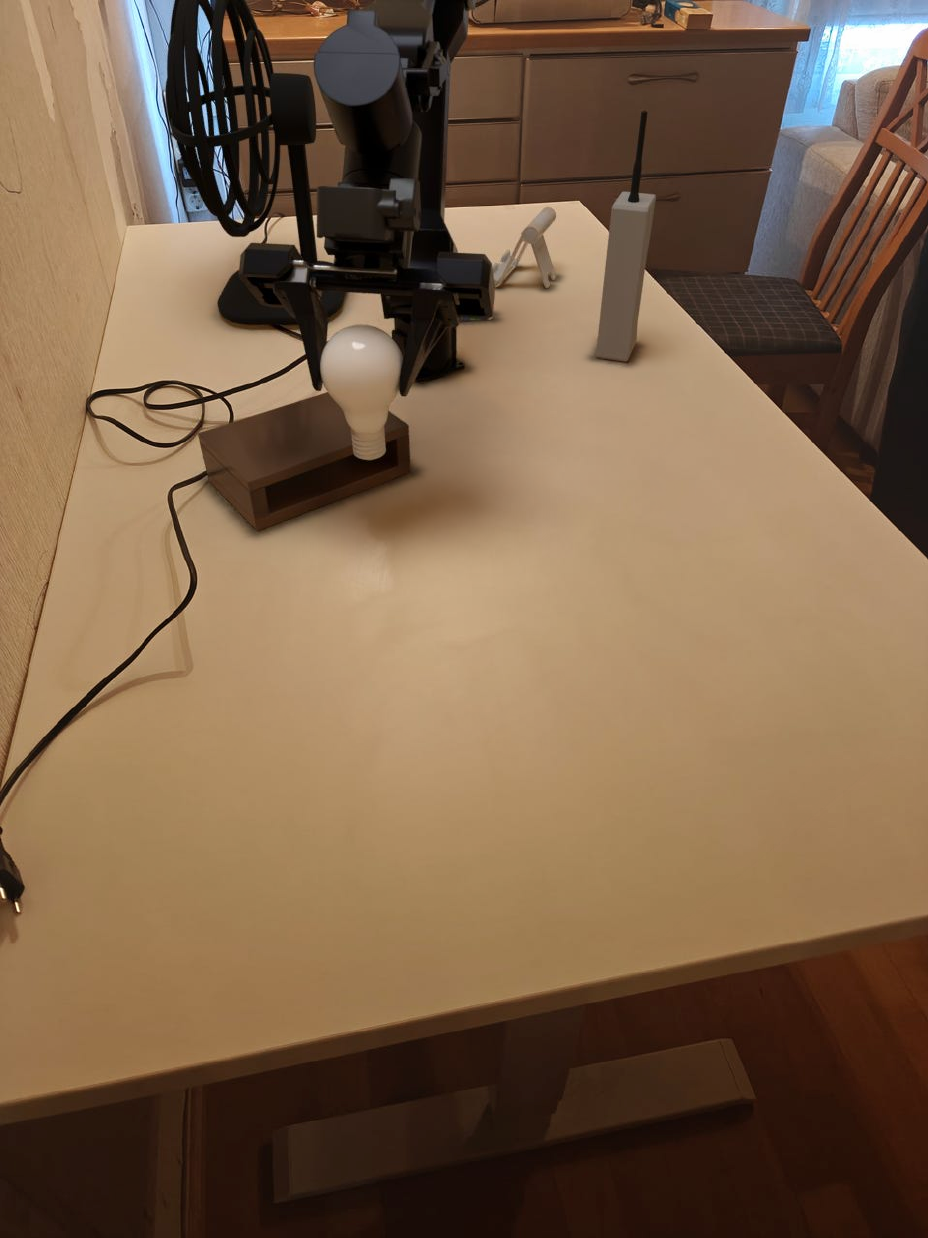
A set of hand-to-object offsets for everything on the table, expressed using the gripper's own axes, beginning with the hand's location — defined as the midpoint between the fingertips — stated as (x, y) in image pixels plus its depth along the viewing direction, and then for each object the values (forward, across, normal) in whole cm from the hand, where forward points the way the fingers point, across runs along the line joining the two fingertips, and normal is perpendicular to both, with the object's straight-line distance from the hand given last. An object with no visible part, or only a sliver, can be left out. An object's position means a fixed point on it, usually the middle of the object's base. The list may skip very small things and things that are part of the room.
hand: (359, 392), depth 66 cm
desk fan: (-25, -23, +45) cm, 57 cm away
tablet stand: (-32, +8, +53) cm, 63 cm away
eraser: (-23, +2, +43) cm, 49 cm away
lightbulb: (+4, 0, +6) cm, 7 cm away
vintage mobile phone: (-18, +21, +38) cm, 46 cm away
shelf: (+4, -8, +15) cm, 17 cm away
